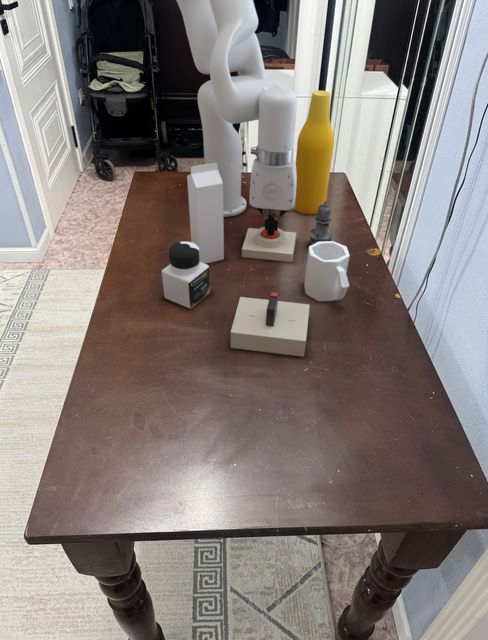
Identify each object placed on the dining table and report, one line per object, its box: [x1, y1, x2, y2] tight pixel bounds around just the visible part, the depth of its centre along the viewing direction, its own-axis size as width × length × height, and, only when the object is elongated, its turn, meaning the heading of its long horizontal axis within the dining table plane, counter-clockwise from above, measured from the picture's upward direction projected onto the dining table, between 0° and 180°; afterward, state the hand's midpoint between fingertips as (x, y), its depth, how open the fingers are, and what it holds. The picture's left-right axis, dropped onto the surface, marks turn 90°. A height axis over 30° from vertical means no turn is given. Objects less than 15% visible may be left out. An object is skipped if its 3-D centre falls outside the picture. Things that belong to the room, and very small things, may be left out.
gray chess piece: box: [308, 200, 334, 248], centre depth 117 cm, size 6×6×12 cm
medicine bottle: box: [161, 240, 211, 310], centre depth 101 cm, size 7×7×12 cm
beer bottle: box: [295, 90, 335, 216], centre depth 126 cm, size 9×9×29 cm
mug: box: [303, 240, 351, 302], centre depth 103 cm, size 12×9×10 cm
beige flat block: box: [230, 296, 311, 358], centre depth 96 cm, size 14×11×4 cm
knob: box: [266, 291, 279, 326], centre depth 93 cm, size 5×2×4 cm, turn 170°
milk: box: [186, 163, 225, 264], centre depth 109 cm, size 6×6×22 cm
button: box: [262, 229, 279, 239], centre depth 117 cm, size 4×4×2 cm
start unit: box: [241, 226, 297, 263], centre depth 119 cm, size 12×10×4 cm
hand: (271, 232), depth 117 cm, fingers closed
